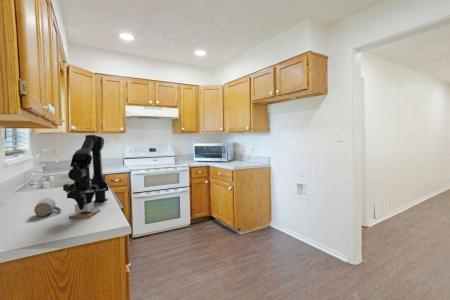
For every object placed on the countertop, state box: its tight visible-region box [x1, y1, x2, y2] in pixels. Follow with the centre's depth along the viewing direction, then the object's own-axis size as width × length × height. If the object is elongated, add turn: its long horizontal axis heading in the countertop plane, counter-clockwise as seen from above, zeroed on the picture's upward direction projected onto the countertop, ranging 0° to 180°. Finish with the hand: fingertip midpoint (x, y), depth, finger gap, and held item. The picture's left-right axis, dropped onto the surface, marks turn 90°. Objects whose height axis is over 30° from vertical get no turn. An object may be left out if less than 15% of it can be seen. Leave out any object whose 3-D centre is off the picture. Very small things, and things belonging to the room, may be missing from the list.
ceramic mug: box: [33, 197, 62, 217], centre depth 120 cm, size 11×8×8 cm
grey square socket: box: [74, 200, 95, 213], centre depth 118 cm, size 6×6×4 cm
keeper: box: [68, 199, 101, 219], centre depth 118 cm, size 10×10×7 cm
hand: (84, 207), depth 118 cm, fingers closed on grey square socket, 6 cm apart
